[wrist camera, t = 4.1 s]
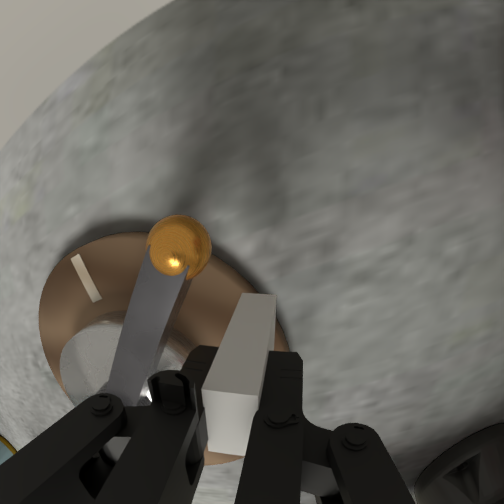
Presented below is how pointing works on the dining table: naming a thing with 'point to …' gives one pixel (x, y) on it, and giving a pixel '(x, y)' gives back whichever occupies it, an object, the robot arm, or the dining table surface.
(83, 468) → the robot arm
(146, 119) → the dining table surface
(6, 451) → the bottle
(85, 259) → the walnut stand
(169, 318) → the capstan dial
